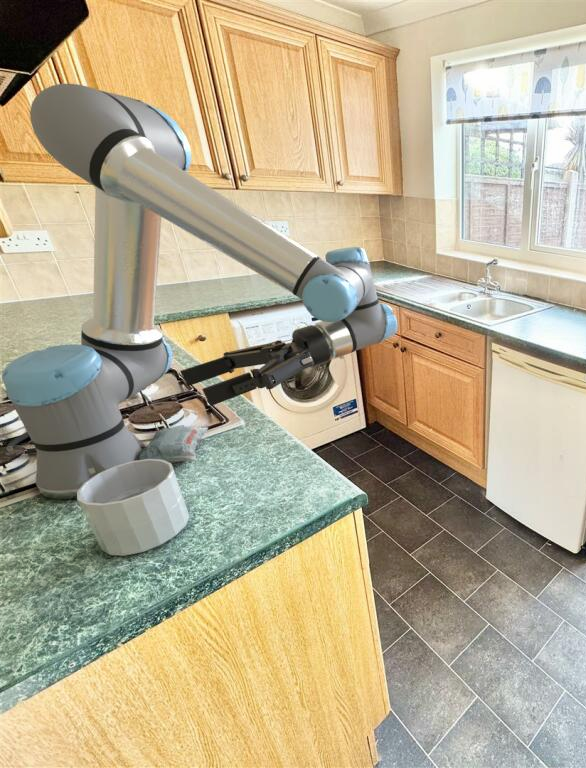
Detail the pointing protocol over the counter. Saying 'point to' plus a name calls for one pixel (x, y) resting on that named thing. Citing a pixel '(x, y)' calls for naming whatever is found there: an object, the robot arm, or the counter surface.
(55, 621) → the counter surface
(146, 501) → the grey faceted pot
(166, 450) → the packaged food
